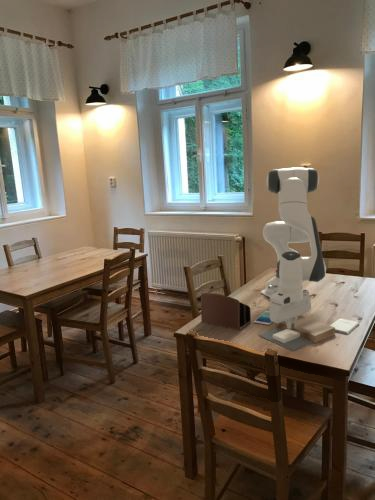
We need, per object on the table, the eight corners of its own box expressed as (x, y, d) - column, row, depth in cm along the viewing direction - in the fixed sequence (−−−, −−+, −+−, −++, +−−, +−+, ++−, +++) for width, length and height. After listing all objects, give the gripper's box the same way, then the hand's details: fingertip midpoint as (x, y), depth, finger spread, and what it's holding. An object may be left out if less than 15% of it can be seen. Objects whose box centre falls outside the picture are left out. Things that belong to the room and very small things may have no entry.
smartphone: (280, 312, 186) (269, 324, 173) (280, 314, 186) (269, 326, 174) (265, 310, 190) (253, 321, 177) (265, 312, 190) (253, 323, 177)
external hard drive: (327, 331, 166) (339, 321, 175) (347, 335, 161) (359, 325, 170) (327, 327, 166) (339, 317, 175) (347, 332, 160) (359, 321, 169)
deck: (275, 327, 171) (275, 320, 170) (295, 320, 177) (295, 313, 177) (315, 343, 155) (315, 335, 154) (334, 334, 161) (334, 327, 160)
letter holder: (239, 331, 170) (238, 298, 167) (201, 321, 182) (199, 291, 179) (251, 323, 178) (250, 292, 175) (213, 314, 190) (212, 285, 187)
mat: (258, 335, 164) (258, 334, 164) (277, 328, 170) (277, 327, 170) (293, 351, 149) (293, 350, 149) (312, 342, 155) (312, 341, 155)
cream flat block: (272, 338, 160) (272, 334, 160) (288, 331, 165) (288, 328, 165) (284, 343, 155) (284, 339, 155) (300, 336, 160) (300, 333, 160)
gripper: (302, 286, 166) (302, 318, 169) (266, 297, 155) (267, 331, 158) (315, 290, 161) (314, 322, 164) (278, 302, 150) (279, 337, 153)
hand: (291, 327), depth 161 cm, fingers closed
